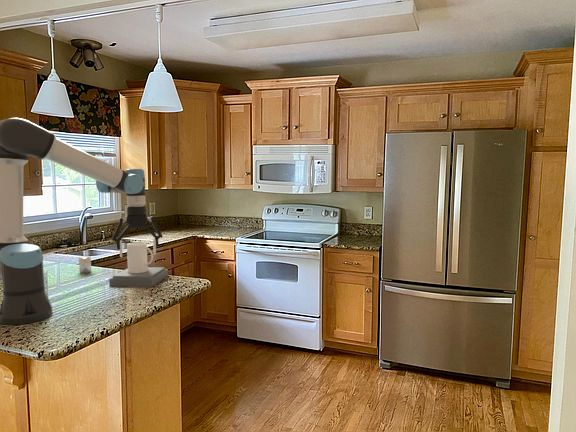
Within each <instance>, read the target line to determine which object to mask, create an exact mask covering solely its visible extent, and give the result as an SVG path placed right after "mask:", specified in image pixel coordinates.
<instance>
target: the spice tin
mask: <svg viewBox="0 0 576 432" xmlns="http://www.w3.org/2000/svg"><path fill="white" fill-rule="evenodd" d="M78 266H79V267H78V269H79V274H80V273H81V275H83V274H84V275H85V273H87V274H90V272H91V273H92V261H91V256H80V257H78Z"/></svg>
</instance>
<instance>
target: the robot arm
mask: <svg viewBox="0 0 576 432" xmlns="http://www.w3.org/2000/svg"><path fill="white" fill-rule="evenodd" d="M29 156H30V157H33V158H36V159H39V160H41V161H43V160H45V159H46V160H49V161H50V162H53V163H55V164H58V165H60V166H62V167H64V168H66V169H70V170H72V171H74V172H75V173H78V174H81V175H82V176H83V175H84V176H85V177H88V178H90V179H92V180H95V185H96V189H97V191H98V192H99V193H101V194H108V193H109V194H110V193H116V194H126V205H127V207H126V215H127V216H126V217H119V220H118V224H117V227H116V229H115V230H114V232H113V233H112V234H113V235H112V237H111V240H112V241H114V242H116V249H117V250H119V256H120V258H123V242H122V239H124V238H123V237H125V236H126V234H127V233H128V232H129V231H130V230H131V228H133V229H137V228H139V229H141V228H143V227H144V229H146V231H148V233H149V234H150V235H151V236H153V239H152V247H153V250H152V253H153V256H156V255H157V247H159V240H160V239H162V238H163V234H162V232H161V230H160V228H159V227H158V225H157V223H156V222H155V217H154V216H153V215H152V216H147V206H146V204H147V203H146V201H147V200H146V175H145V169H143V168H126V169H125V170H123V169H122V168H119V167H117V166H115V165H113V164H111V163H109V162H107V161H105V160H102V159H101V158H98V157H96V156H94V155H92V154H90V153H87V152H86V151H84V150H81V149H80V148H78V147H75V146H74V145H71V144H69V143H67V142H65V141H63V140H61V139H59V138H57V137H56V134H55V133H54V132H51V131H49V130H47V129H45V128H43V127H41V126H40V125H37V124H36V123H34V122H31V121H30V120H28V119H24V118H19V117H11V118H7V119H0V279H1V283H2V293H3V294H2V295H3V297H2V300H1V305H0V324H2V325H10V326H11V325H12V326H14V325H15V326H16V325H25V324H30V323H36V322H38V321H39V322H40V321H42V320H44V319H47V318H49V317H51V316H52V314H53V306H52V304H51V302H50V299H49V297H48V295H47V293H46V291H45V277H44V276H45V274H44V273H45V272H44V262H43V261H44V260H43V259H44V256H43V253H42V248H41V247H40V246H39V245H36V244H33V243H32V244H31V243H30V244H29V239H28V238H27V237H26V236H25V235H24V166H25V165H26V164H27V163H28V162H29ZM147 221H149V222H150V223H151V225H152V227H153V229H154V230H155V232H156V233H157V234H155V232H154V231H153V230H152V229H151V228H150V227H149V226H148V225H147V224H146V223H147ZM126 222H127V223H128V224H127V226H125V228H124V229H123V231H122V232H121V233H120V234H119V232H120V230H121V228H122V226H123V224H125V223H126Z"/></svg>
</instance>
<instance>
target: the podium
mask: <svg viewBox="0 0 576 432" xmlns="http://www.w3.org/2000/svg"><path fill="white" fill-rule="evenodd" d="M127 271H128V267H127V268H125V269H124V270H122V271H120V272H118V273H116V274H114V275H112V277H110V278H109V287H138V288H139V287H142V288H143V287H146V288H148V287H149V288H150V287H151V288H152V287H154V286H156V285H157V284H159V283H160V282H162V281H163V280H164V279H167V277H169V268H165V267H162V266H161V267H160V266H159V267H157V266H156V267H152V266H151V267H150V266H148V271H147V272H144V273H128V272H127Z"/></svg>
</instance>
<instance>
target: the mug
mask: <svg viewBox="0 0 576 432" xmlns="http://www.w3.org/2000/svg"><path fill="white" fill-rule="evenodd" d="M148 252H149V253H150V255H151V259H150V261H148ZM126 258H127V261H126V262H127V268H128V271H127V272H128V273H144V272H147V271H148V267H149V265H150V264H151V263H152V262H153V261H154V260H153V259H154V254H153V250H151V249H150V248H149V247H148V245H147V242H146V241H134V242H133V241H132V242H129V243H126Z"/></svg>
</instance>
